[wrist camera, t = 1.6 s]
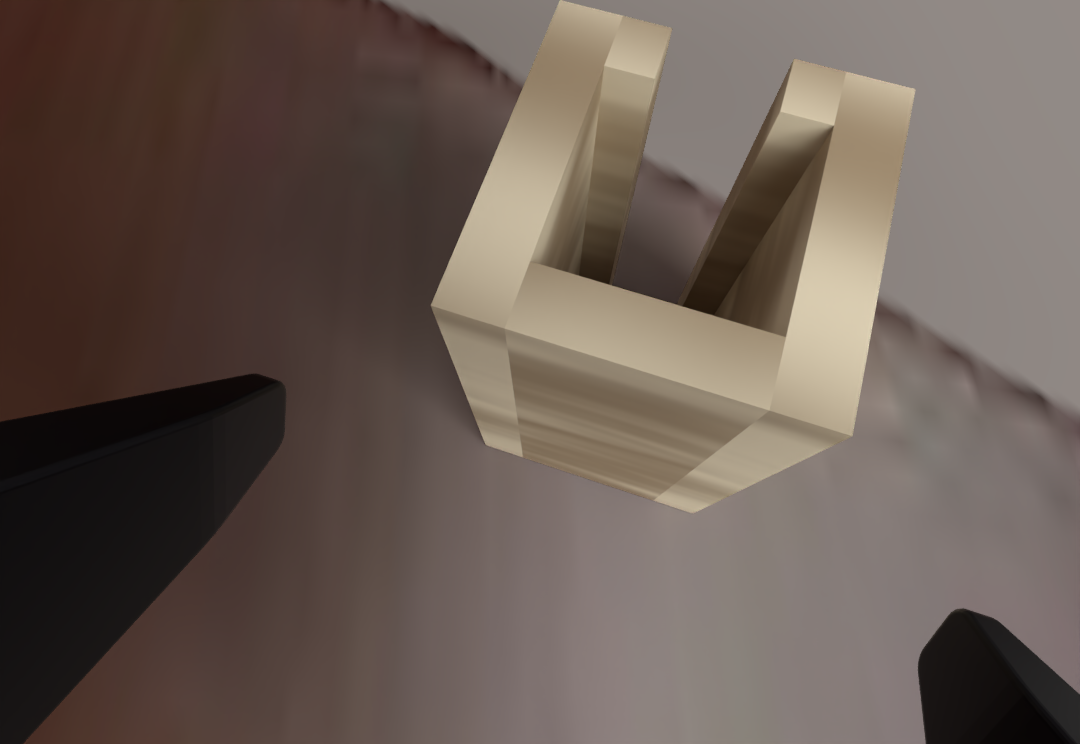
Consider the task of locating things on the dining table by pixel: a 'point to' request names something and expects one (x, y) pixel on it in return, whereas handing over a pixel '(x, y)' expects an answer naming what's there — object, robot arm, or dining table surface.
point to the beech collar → (709, 296)
